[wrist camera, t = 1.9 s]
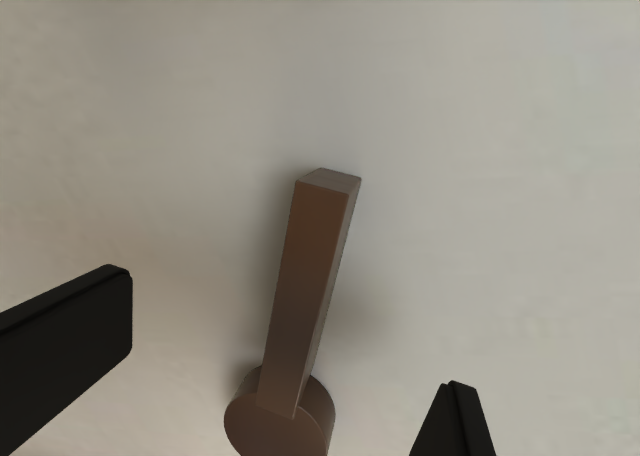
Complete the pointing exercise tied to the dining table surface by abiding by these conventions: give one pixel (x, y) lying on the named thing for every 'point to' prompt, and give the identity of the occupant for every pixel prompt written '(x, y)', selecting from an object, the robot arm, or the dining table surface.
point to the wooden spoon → (297, 329)
